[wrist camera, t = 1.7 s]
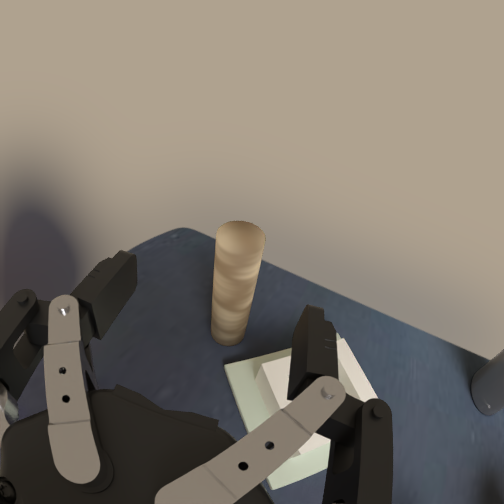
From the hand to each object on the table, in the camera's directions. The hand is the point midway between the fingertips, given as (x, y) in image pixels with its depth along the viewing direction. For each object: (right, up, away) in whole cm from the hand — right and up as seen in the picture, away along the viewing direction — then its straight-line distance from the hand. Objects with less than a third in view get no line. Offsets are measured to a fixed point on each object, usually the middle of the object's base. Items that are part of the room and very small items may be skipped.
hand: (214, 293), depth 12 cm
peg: (-2, -8, +24) cm, 25 cm away
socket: (+8, -16, +17) cm, 25 cm away
